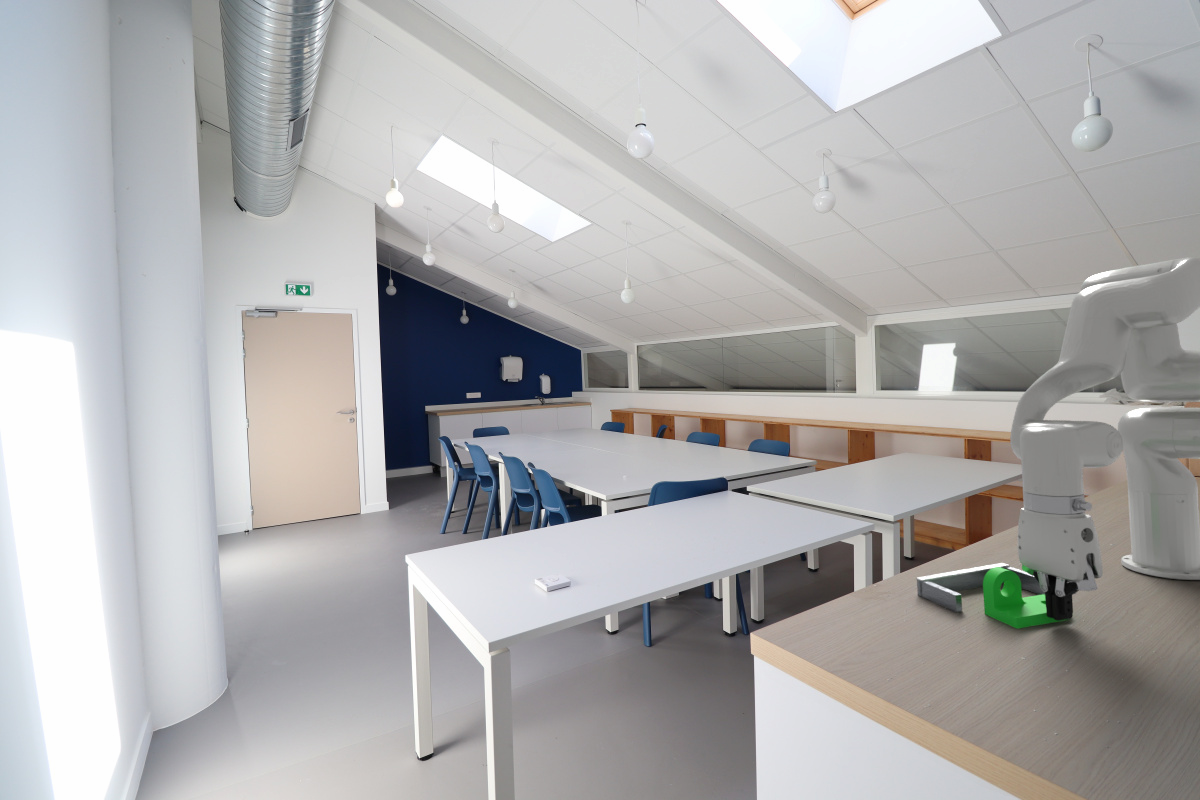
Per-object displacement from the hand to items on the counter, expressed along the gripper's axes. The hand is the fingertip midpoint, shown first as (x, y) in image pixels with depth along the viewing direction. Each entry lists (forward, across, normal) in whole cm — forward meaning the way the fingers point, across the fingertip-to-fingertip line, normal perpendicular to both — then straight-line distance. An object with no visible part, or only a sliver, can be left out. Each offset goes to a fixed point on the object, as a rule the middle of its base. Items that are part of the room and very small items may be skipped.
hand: (1059, 617), depth 87 cm
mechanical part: (+2, +4, 0) cm, 5 cm away
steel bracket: (+1, +14, 0) cm, 14 cm away
